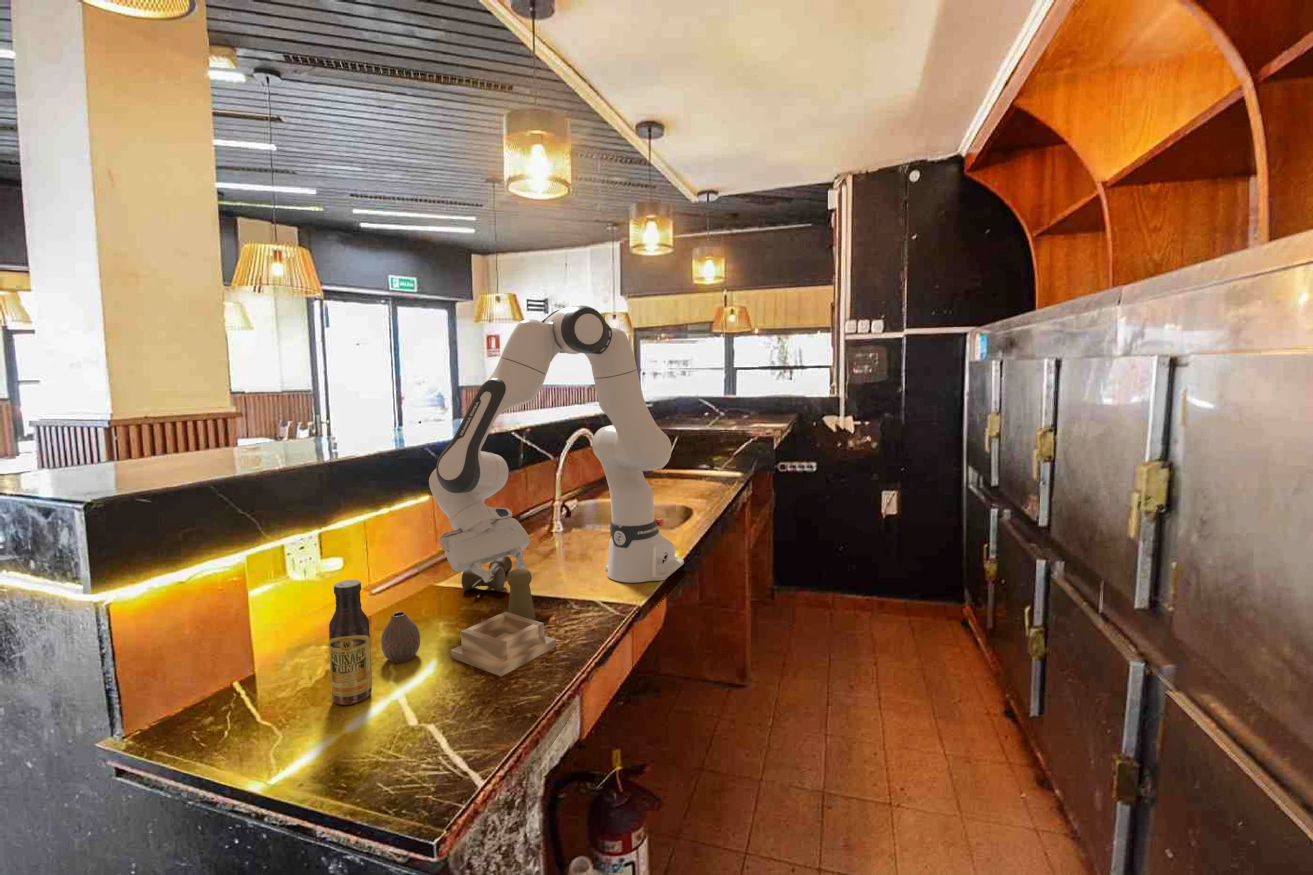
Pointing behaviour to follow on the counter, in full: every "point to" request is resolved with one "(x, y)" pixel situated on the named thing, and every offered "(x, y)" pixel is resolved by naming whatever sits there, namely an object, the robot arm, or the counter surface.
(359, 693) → the sauce bottle
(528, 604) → the cork
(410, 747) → the counter surface
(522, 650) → the shaker holder
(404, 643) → the vase
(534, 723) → the counter surface
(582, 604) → the counter surface
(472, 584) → the kendama
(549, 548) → the counter surface
